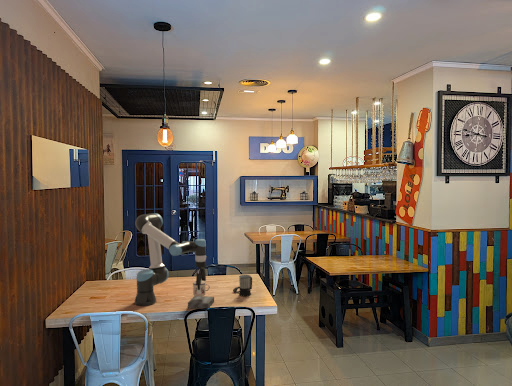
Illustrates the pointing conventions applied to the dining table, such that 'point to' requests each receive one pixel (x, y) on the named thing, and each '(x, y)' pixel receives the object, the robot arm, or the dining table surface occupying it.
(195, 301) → the grey stand
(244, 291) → the milk frother
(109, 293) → the dining table surface
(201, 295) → the teacup with lid
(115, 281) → the dining table surface
